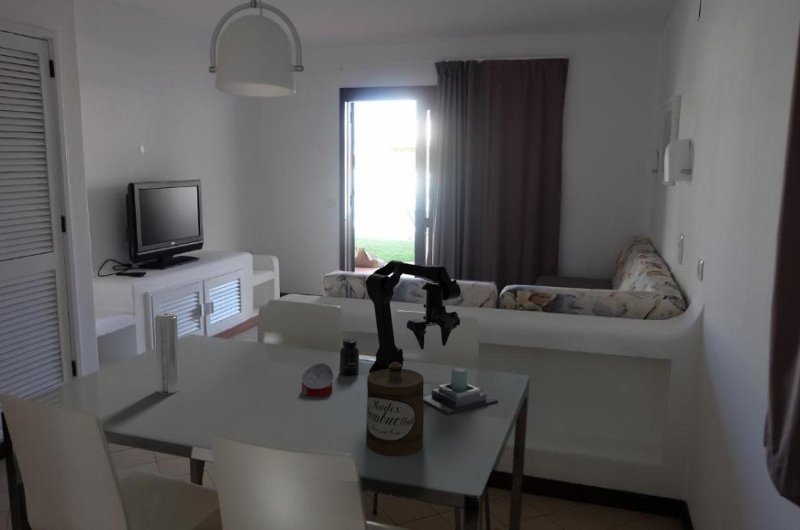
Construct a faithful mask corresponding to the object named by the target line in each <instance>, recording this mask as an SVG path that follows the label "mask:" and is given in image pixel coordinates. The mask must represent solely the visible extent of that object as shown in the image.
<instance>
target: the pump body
mask: <svg viewBox="0 0 800 530" xmlns="http://www.w3.org/2000/svg"><path fill="white" fill-rule="evenodd" d="M450 371H451V372H450V373H451V374H450V375H451V376H450V377H451V378H450V383H451V390H453V391H455V392H457V393H458V392H463V391H467V384H468V377H469V376H468V372H469V371H468V369H467V368H463V367H454V368H452V369H451V370H450Z"/></svg>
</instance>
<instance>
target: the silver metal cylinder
mask: <svg viewBox="0 0 800 530" xmlns="http://www.w3.org/2000/svg"><path fill="white" fill-rule="evenodd" d="M154 333H155V334H154V335H155V338H154V339H155V363H156V384H157V385H156V386H157V387H156V389H157V393H158V394H160V395H171V394H176V393H178V391H180V375H179V373H180V372H179V370H180V368H179V344H178V343H179V340H178V339H179V337H178V316H177V315H176V313H174V312H160V313H159V312H158V313H157V314H156V315H155V317H154Z"/></svg>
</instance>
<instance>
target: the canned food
mask: <svg viewBox="0 0 800 530" xmlns="http://www.w3.org/2000/svg"><path fill="white" fill-rule="evenodd" d="M301 380H302V382H301V394H302V395H303V396H306V397H308V398H309V397H310V398H322V397H327V396H329V395H331V394H332V393H333V380H334V373H333V369H332V367H330V365H328V364H326V363H315V364H313V365H312V366H310V367H309V368H308V369H306V370H305V371H304V373H303V374H302V379H301Z"/></svg>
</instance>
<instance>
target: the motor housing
mask: <svg viewBox="0 0 800 530" xmlns="http://www.w3.org/2000/svg"><path fill="white" fill-rule="evenodd" d="M496 403H499V400H498V399H497V398H495V397H493V396H490V395H488V394H486V393H484V390H483V388H482V387H480V386H479V387H476V386H474V385H471V384H469V383H467V391H463V392H458V393H457V392H455V391H453V390H451V382H449V383H445V384H440V385H438V388H432V389H431V394H430V395H425V396H423V404H425V405H428V406H430V407H432V408H433V409H436V410H437V411H439V412H441V413H443V414H444V415H447V416H448V415H453V414H456V413H460V412H465V411H469V410H473V409H476V408H480V407H484V406H487V405H492V404H496Z"/></svg>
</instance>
